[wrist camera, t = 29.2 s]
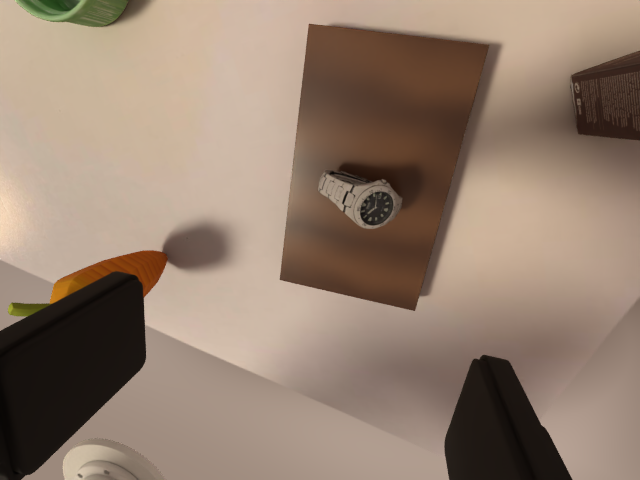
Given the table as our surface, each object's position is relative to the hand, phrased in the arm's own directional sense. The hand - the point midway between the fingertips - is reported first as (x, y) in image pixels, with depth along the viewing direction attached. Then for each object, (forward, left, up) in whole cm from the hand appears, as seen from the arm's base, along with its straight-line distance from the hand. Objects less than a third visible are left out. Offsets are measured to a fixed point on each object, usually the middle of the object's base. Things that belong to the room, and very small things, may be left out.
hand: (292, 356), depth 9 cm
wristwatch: (+1, 0, -19) cm, 19 cm away
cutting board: (+2, 0, -22) cm, 22 cm away
